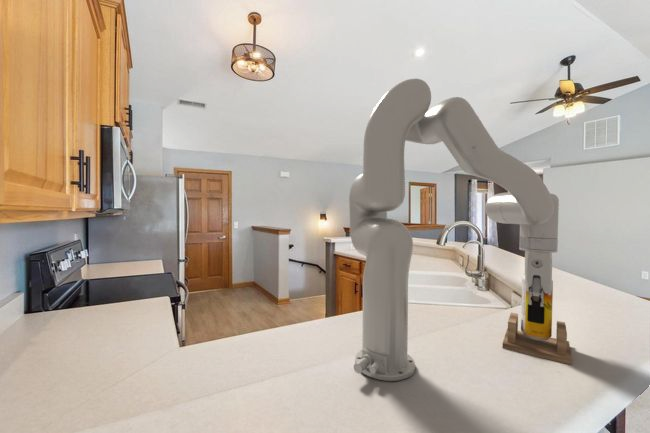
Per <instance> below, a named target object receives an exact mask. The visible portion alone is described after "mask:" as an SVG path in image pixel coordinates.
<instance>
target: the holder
mask: <svg viewBox="0 0 650 433" xmlns="http://www.w3.org/2000/svg"><path fill="white" fill-rule="evenodd" d="M508 317H509V318H508V321H507V329H506V331H505V335H504V338H503V341H502V346H501V348H502V349H506V350H509V351H513V352H518V353H521V354H525V355H529V356H532V357H533V356H534V357H537V358H543V359H546V360H550V361H554V362H558V363H563V364H566V365H570V366H572V365H573V358H572V352H571V347H570V341H568V331H567V326H566V322H565V321H561V320H560V321H559V320H556V334H555V336H556V338H554V337H550V338H549V339H548V340H545V341H542V340H535V339H531V338H529V337H527V336H525V335H524V334H523V332H522V331H521V330H519V314H518V313H515V312H510V315H509V316H508Z"/></svg>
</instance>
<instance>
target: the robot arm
mask: <svg viewBox="0 0 650 433" xmlns="http://www.w3.org/2000/svg"><path fill="white" fill-rule="evenodd" d="M431 102H432V92H431V89H430V86H429V84H428V83H427V81H425V80H423V79H422V78H421V79H419V78H409V79H405V80H404V81H401V82H399V83H397V84H396V85H394V86H393V87H392V88H391V89H389V90H388V91H387V92H386V93H385V94H384V95H383V96H382V97H381V99H380V100H379V101H378V102H377V104H376V106H375V107H374V108H373V110H372V111H371V112H372V113H371V115H370V117H369V119H368V122H367V124H366V127H365V131H364V137H363V153H362V154H363V157H362V164H363V167H362V168H363V169H362V173H361V174H359V175H358V176H356V178H354V180H353V181H352V184H351V186H350V191H349V194H348V195H349V197H348V200H349V201H348V203H349V206H348V207H349V231H350V232H349V233H350V239H351V243H352V246H353V247H354V250H356V251H357V252H358V254H359V253H360V255H362V256H364V257H365V258H366V259H365V264H364V269H363V273H362V274H363V277H362V349H361V350H359V351H358V352H357V353H356V354H355V358H354V361H355V362H354V364H353V369H354V372H355V373H357V374H364V375H366V376H367V377H369V378H372V379H375V380H378V381H386V382H397V381H402V380H405V379H407V378H409V377H411V376H412V375H413V374H414V373H415V370H416V363H415V360H414V358H412V356H411V355H410V354H408V345H409V344H408V343H409V342H408V340H409V338H408V333H409V332H408V331H409V329H408V327H409V326H408V325H409V324H408V323H409V322H408V321H409V316H408V315H409V274H410V273H409V272H410V266H411V260H412V256H413V250H414V242H413V237H412V233H411V232H410V230H409V229H408V228H407V226H406V225H405V224H403V223H402V222H401V221H399V220H397V219H393V218H388V212H392V211H395V210H396V209H398V208H400V207H401V206H402V204H403V203H404V200H405V196H406V181H405V180H406V176H405V173H406V171H405V144H406V142H410V143H411V142H412V143H415V144H421V145H435V144H439V143H441V142H443V144H444V145H445V148H447V150H448V151H449V153H450V154H451V155H452V157H453V158H454V160H455V161H456V163H457V164H458V166H459V167H460V169H461V170H462V171H463V172H464V173H466V174H469V175H471V176H474V177H477V178H481V179H484V180H487V181H489V182H492V183H495V184H496V185H498V186H500V187H501V188H503V189H504V190H506V191H507V192H501V193H500V192H499V193H496V194H493V195H492V196H491V197H489V198H488V199H487V201H486V203H485V205H484V211H485V214H486V216H487V217H488V218H489V219H490V220H491V221H493V222H496V223H500V224H504V225H505V224H509V225H519V248H518V249H519V250H520V251H523V252H524V273H525V284H526V291H527V292H529V304H528V317H527V320H528V321H529V322H534V323H539V324H544V312H545V307H543V298H544V293H547V294H548V295H551V290H552V281H553V253H558V249H559V248H558V245H559V240H558V239H559V211H560V210H559V209H560V208H559V206H560V205H559V202H560V200H559V197H558V195H557V194H554V193H550V191H549V189H548V188H547V186H546V184H545V182H544V181H543V179H542V178H541V176H540V175H539V174H538V173H537V172H536V171H535V170H534V169H532V167H530V166H529V165H527V164H526V163H525V162H523V161H521V160H519V159H518V158H516V157H515V156H513V155H511V154H509V153H508V152H506V151H503V150H502V149H501V148H499V146H498V145H497V144H496V142H495V140H494V139H493V137H492V136H491V135H490V133H489V131H488V130H487V128H486V127H485V126H484V124H483V123H482V121H481V119H480V117H479V116H478V115H477V113H476V111H475V110H474V108H473V107H472V105H471V104H470V103H469V101H468V100H466V99H465V98H463V97H459V96H455V97H454V96H453V97H449V98H447V99H444V100H442V101H441V102H439V103H437V104H435V105H434V106H431V104H432V103H431ZM430 106H431V107H430ZM533 275H534V279H533ZM531 285H532V289H533V292H532V291H531ZM529 287H530V289H529ZM540 290H541V291H542V293H539V291H540ZM532 295H533V296H532ZM539 296H541V297H539ZM540 302H541V304H540ZM540 305H541V306H540Z"/></svg>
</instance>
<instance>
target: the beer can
mask: <svg viewBox="0 0 650 433" xmlns="http://www.w3.org/2000/svg"><path fill="white" fill-rule="evenodd" d="M533 279H534V275H533ZM529 289H530V287H529ZM553 290H554V280H552V290H551V295H548V294H547V293H544V298H543V307H545V312H544V324H539V323H534V322H529V321H528V320H527V317H528V304H529V292H527V291H526V284H525V272H524V273H523V276H522V277H521V311H520V312H521V314H520V316H521V318H520V331H522V332H523V334H524V335H525V336H527V337H529V338H531V339H535V340H542V341H545V340H548V339H549V338H552V332H553V331H552V330H553V329H552V328H553V327H552V326H553V296H554V294H553V292H554V291H553ZM531 291H532V292H533V289H532V285H531ZM539 293H542V291H541V290H540V291H539ZM532 296H533V295H532ZM539 297H541V296H539ZM540 304H541V302H540ZM540 306H541V305H540Z"/></svg>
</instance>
